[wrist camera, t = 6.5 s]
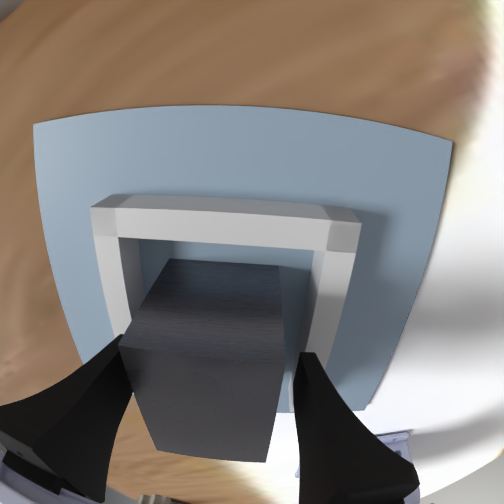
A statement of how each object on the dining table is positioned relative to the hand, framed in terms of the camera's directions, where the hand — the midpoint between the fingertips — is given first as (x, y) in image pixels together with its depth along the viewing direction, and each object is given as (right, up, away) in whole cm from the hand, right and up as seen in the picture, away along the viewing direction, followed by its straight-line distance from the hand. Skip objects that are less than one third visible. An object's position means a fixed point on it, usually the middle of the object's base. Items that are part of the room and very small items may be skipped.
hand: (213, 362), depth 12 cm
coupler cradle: (0, +2, +3) cm, 4 cm away
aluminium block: (0, +1, +3) cm, 3 cm away
